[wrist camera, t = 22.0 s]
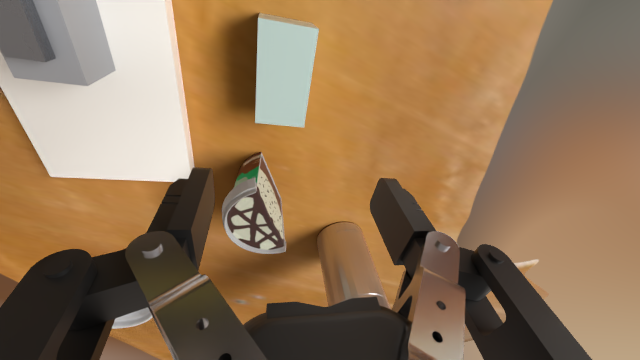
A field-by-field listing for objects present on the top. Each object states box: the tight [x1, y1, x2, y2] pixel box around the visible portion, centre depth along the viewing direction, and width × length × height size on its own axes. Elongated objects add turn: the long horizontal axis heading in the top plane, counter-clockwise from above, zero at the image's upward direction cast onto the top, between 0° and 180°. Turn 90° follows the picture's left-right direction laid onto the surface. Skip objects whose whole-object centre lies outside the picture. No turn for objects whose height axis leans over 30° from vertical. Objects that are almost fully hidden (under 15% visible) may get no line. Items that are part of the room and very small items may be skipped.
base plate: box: [0, 0, 195, 182], centre depth 25 cm, size 24×16×7 cm, turn 170°
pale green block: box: [255, 13, 319, 127], centre depth 28 cm, size 10×6×5 cm, turn 170°
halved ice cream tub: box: [222, 152, 286, 254], centre depth 35 cm, size 12×6×10 cm, turn 12°
